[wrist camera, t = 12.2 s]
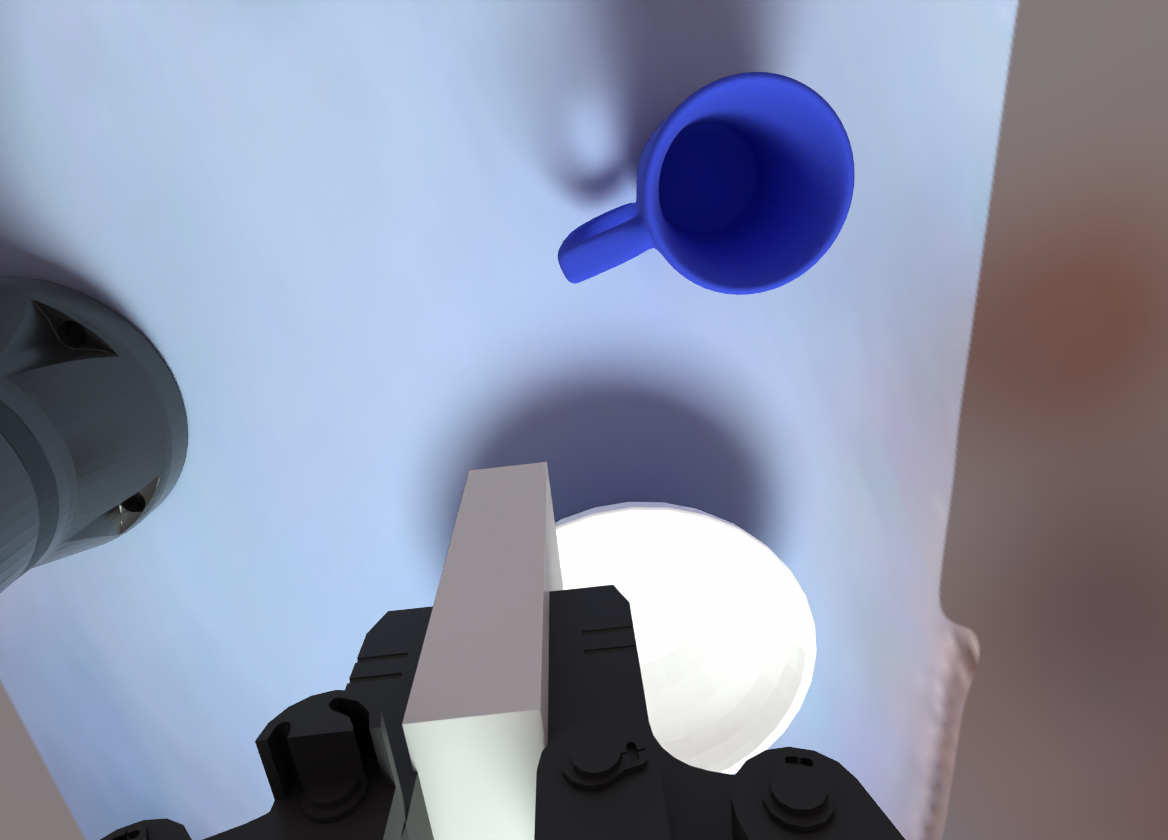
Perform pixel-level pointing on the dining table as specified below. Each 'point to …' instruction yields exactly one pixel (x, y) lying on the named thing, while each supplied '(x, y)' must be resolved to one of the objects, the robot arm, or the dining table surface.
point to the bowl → (700, 624)
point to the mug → (731, 189)
